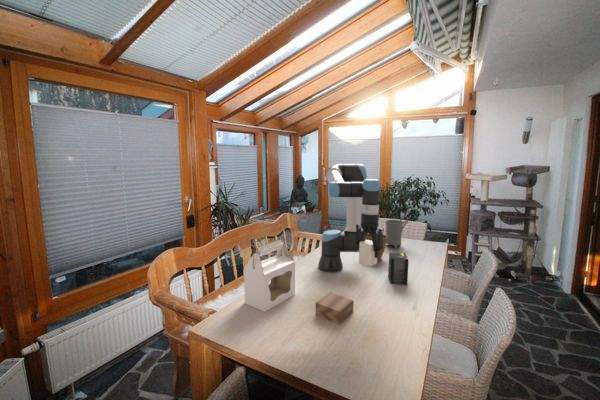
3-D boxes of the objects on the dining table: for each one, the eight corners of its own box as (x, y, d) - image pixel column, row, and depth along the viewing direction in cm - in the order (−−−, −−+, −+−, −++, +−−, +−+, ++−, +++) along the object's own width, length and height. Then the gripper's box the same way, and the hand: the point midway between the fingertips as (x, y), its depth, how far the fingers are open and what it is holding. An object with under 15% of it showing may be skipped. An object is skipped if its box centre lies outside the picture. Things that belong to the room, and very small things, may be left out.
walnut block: (315, 315, 126) (315, 302, 125) (329, 304, 135) (330, 292, 134) (339, 325, 119) (340, 311, 118) (353, 312, 128) (353, 300, 127)
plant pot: (390, 259, 195) (392, 236, 193) (376, 264, 187) (377, 240, 184) (373, 253, 207) (374, 231, 205) (359, 257, 199) (360, 234, 196)
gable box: (264, 312, 127) (263, 251, 123) (244, 303, 135) (242, 245, 131) (295, 294, 145) (295, 240, 141) (276, 287, 153) (275, 235, 149)
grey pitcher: (379, 246, 224) (381, 215, 220) (384, 241, 236) (386, 211, 232) (404, 250, 214) (406, 217, 210) (408, 245, 227) (410, 214, 223)
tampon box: (407, 285, 156) (409, 259, 153) (389, 283, 157) (391, 258, 155) (404, 277, 166) (406, 252, 164) (387, 275, 168) (389, 251, 166)
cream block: (358, 262, 134) (359, 242, 133) (366, 259, 139) (366, 239, 137) (370, 266, 130) (371, 244, 129) (377, 262, 134) (378, 242, 133)
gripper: (348, 211, 135) (346, 258, 138) (384, 217, 122) (382, 269, 125) (357, 209, 140) (355, 255, 144) (393, 215, 127) (390, 265, 130)
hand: (368, 261), depth 134 cm, fingers closed on cream block, 6 cm apart
